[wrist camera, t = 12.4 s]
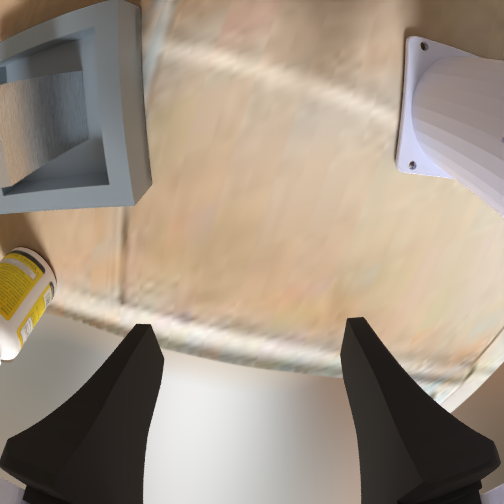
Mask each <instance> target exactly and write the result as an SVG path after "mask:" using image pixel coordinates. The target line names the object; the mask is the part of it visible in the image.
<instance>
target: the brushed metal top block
mask: <svg viewBox="0 0 504 504" xmlns="http://www.w3.org/2000/svg"><path fill="white" fill-rule="evenodd" d="M89 139H90V136H89V129H88V121H87V112H86V102H85V91H84V78H83V71H75V72H67V73H60V74H53V75H47V76H41V77H35V78H30V79H24V80H19V81H15V82H10V83H6V84H2V85H0V188H3V187H9V186H12V185H14V184H15V183H17V182H18V181H20V180H21V179H23V178H24V177H26V176H27V175H29V174H30V173H32V172H34V171H35V170H37V169H38V168H40V167H42V166H43V165H45V164H46V163H48V162H50V161H51V160H53V159H55V158H56V157H58V156H60V155H62V154H63V153H65V152H67V151H69V150H70V149H72V148H74V147H76V146H78V145H79V144H81V143H83V142H85V141H87V140H89Z"/></svg>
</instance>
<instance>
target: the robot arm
mask: <svg viewBox="0 0 504 504" xmlns="http://www.w3.org/2000/svg"><path fill="white" fill-rule="evenodd" d="M421 43H424V45H425V50H422V48H421V46H420V45H421ZM411 161H414V165H413V167H411V168H409V164H410V162H411ZM395 165H396V168H397V169H398V170H399V171H401V172H403V173H411V174H420V175H428V176H436V177H444V178H451V179H456V180H457V181H458V182H460V183H461V184H462V185H464V186H465V187H466V188H468V189H469V190H470V191H471V192H473V193H474V194H475V195H477V196H478V197H479V198H480V199H482V200H483V201H484V202H485V203H487V204H488V205H489V206H490V207H491V208H493V209H494V210H495V211H496V212H497V213H499V214H500V215H501V216H502V217H503V218H504V60H496V59H487V58H481V57H479V56H476V55H473V54H471V53H468V52H466V51H463V50H460V49H457V48H454V47H451V46H448V45H445V44H442V43H439V42H436V41H433V40H429V39H426V38H422V37H419V36H410V37H408V38H407V39H406V52H405V74H404V89H403V101H402V112H401V122H400V131H399V139H398V147H397V154H396V161H395ZM340 357H341V365H342V372H343V379H344V383H345V387H346V391H347V395H348V399H349V403H350V407H351V411H352V415H353V420H354V424H355V428H356V433H357V440H358V449H359V459H360V474H361V497H362V498H361V504H504V484H502V485H500V486H498V487H496V488H494V489H492V490H490V491H488V492H486V493H484V494H482V495H480V494H479V490H480V489H481V488H482V484H481V479H483V478H484V477H486V476H487V475H489V474H490V473H491V472H493V471H494V470H495V469H497V467H499V466H500V463H501V461H500V458H499V455H498V451H497V449H496V446H495V444H494V442H493V441H492V440H490V439H488V438H487V437H485V436H483V435H481V434H480V433H477V432H476V431H474V430H473V429H471V428H470V427H468V426H466V425H465V424H464V423H462V422H461V421H459V420H458V419H457V418H455V417H454V416H453V415H451V414H450V413H449V412H448V411H446V410H445V409H444V408H442V407H441V406H440V405H439V404H438V403H437V402H436V401H434V400H433V399H432V398H431V397H430V396H429V395H428V394H427V393H426V392H425V391H424V390H423V389H422V388H421V387H420V386H419V385H418V384H417V383H416V382H415V381H414V380H413V379H412V378H411V377H410V376H409V375H408V373H407V372H406V371H405V370H404V369H403V368H402V367H401V365H400V364H399V363H398V362H397V361H396V359H395V358H394V357H393V356H392V354H391V353H390V352H389V351H388V349H387V348H386V347H385V345H384V344H383V343H382V341H381V340H380V339H379V337H378V336H377V335H376V333H375V332H374V331H373V329H372V328H371V326H370V325H369V324H368V322H367V321H366V319H365V318H364V317H358V318H347V322H346V327H345V333H344V338H343V343H342V348H341V353H340ZM163 366H164V357H163V354H162V352H161V349H160V347H159V344H158V342H157V339H156V336H155V334H154V331H153V329H152V326H151V324H136V325H135V326H134V327H133V329H132V330H131V331H130V332H129V333H128V334H127V336H126V337H125V338H124V339H123V341H122V342H121V343H120V344H119V345H118V347H117V348H116V349H115V350H114V352H113V353H112V354H111V355H110V356H109V357H108V359H107V360H106V361H105V362H104V363H103V365H102V366H101V367H100V368H99V369H98V370H97V371H96V372H95V374H94V375H93V376H92V377H91V378H90V379H89V380H88V381H87V382H86V383H85V384H84V385H83V386H82V387H81V388H80V389H79V390H78V391H77V392H76V393H75V394H74V395H73V396H72V397H70V398H69V399H68V400H67V401H66V402H65V403H63V404H62V405H61V406H60V407H58V408H57V409H56V410H55V411H53V412H52V413H51V414H49V415H48V416H47V417H45V418H44V419H42V420H41V421H39V422H38V423H36V424H35V425H33V426H31V427H30V428H28V429H27V430H24V431H23V432H21V433H19V434H17V435H15V436H14V437H11V438H9V439H8V440H7V443H6V445H5V448H4V450H3V453H2V456H1V459H0V467H1V468H2V469H3V470H4V471H6V472H7V473H9V474H10V475H11V476H13V477H15V478H16V479H18V480H19V481H21V482H22V483H24V484H26V485H27V486H26V489H25V490H24V489H22V488H20V487H18V486H17V485H15V484H13V483H11V482H9V481H7V480H5V479H3V478H0V504H143V477H144V463H145V451H146V444H147V436H148V431H149V427H150V423H151V420H152V416H153V412H154V408H155V404H156V400H157V397H158V393H159V389H160V385H161V379H162V373H163Z"/></svg>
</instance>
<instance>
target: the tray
mask: <svg viewBox="0 0 504 504" xmlns="http://www.w3.org/2000/svg"><path fill="white" fill-rule="evenodd" d="M75 71H83V78H84V91H85V102H86V112H87V121H88V129H89V136H90V139H89V140H87V141H85V142H83V143H81V144H79V145H78V146H76V147H74V148H72V149H70V150H69V151H67V152H65V153H63V154H62V155H60V156H58V157H56V158H55V159H53V160H51V161H50V162H48V163H46V164H45V165H43V166H42V167H40V168H38V169H37V170H35V171H34V172H32V173H30V174H29V175H27V176H26V177H24V178H23V179H21V180H20V181H18V182H17V183H15V184H14V185H12V186H9V187H3V188H0V214H10V213H21V212H34V211H47V210H62V209H79V208H97V207H119V206H135V205H136V204H137V202H138V201H139V200H140V199H141V197H142V196H143V195H144V194H145V193H146V191H147V190H148V189H149V188H150V186H151V185H152V179H151V171H150V162H149V153H148V143H147V133H146V122H145V109H144V95H143V78H142V54H141V7H139V6H137V5H134V4H132V3H130V2H128V1H125V0H108V1H104V2H100V3H97V4H93V5H90V6H87V7H84V8H81V9H78V10H75V11H72V12H69V13H66V14H63V15H60V16H58V17H55V18H53V19H50V20H48V21H45V22H43V23H40V24H38V25H35V26H33V27H31V28H29V29H26V30H24V31H22V32H20V33H18V34H16V35H14V36H12V37H10V38H8V39H6V40H4V41H2V42H0V85H2V84H6V83H10V82H15V81H19V80H24V79H30V78H35V77H41V76H47V75H53V74H60V73H67V72H75Z"/></svg>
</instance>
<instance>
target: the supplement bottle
mask: <svg viewBox="0 0 504 504" xmlns="http://www.w3.org/2000/svg"><path fill="white" fill-rule="evenodd" d="M56 287H57V286H56V280H55V276H54V274H53V272H52V270H51V268H50V267H49V265H48V264H47V263H46V261H45V260H44V259H43V258H42V257H41V256H40V255H39V254H37V253H36V252H34V251H33V250H30V249H28V248H24V247H18V248H15V249H13V250H11V251H10V252H9V253H8V254H7V255H6V256H5V257H4V258H3V259H2V260H1V261H0V359H3V360H10V359H13V358H14V357H16V355H17V354H18V353H19V351H20V350H21V348H22V346H23V344H24V343H25V341H26V339H27V338H28V336H29V334H30V333H31V331H32V330H33V328H34V326H35V325H36V323H37V322H38V320H39V319H40V317H41V315H42V314H43V312H44V311H45V309H46V308H47V306H48V305H49V303H50V302H51V300H52V299H53V297H54V295H55V293H56ZM0 365H1V360H0Z"/></svg>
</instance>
